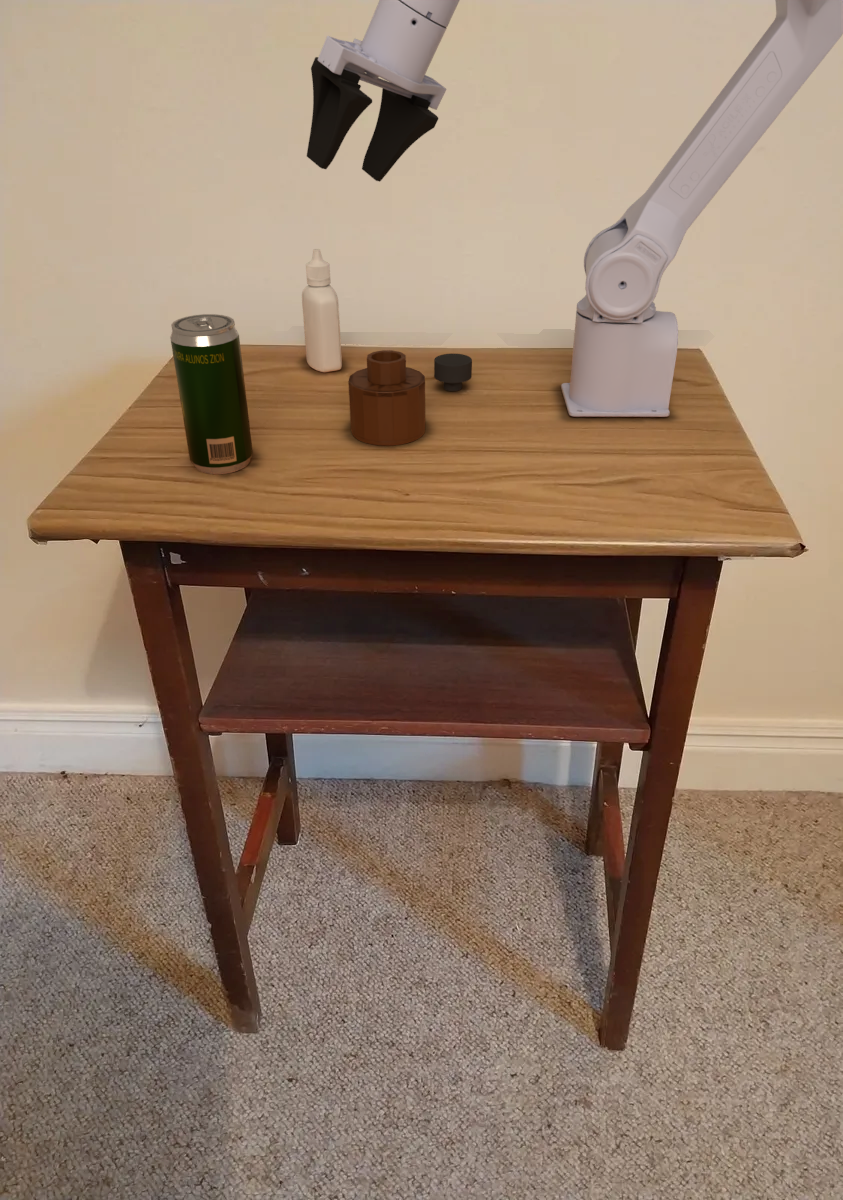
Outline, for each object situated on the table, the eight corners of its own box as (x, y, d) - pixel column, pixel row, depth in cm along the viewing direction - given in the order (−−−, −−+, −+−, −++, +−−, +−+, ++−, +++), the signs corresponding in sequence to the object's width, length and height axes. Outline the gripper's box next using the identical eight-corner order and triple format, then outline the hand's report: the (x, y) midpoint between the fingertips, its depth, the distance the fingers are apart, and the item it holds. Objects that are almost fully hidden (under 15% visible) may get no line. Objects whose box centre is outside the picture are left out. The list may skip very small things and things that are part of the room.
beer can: (261, 468, 77) (245, 327, 71) (199, 480, 75) (177, 337, 69) (243, 445, 81) (226, 310, 75) (183, 456, 79) (161, 318, 73)
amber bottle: (425, 416, 87) (425, 344, 83) (424, 445, 81) (423, 369, 77) (354, 416, 87) (351, 344, 83) (348, 445, 81) (344, 369, 77)
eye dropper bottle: (348, 356, 101) (342, 243, 95) (340, 374, 97) (333, 256, 90) (309, 355, 102) (300, 243, 95) (299, 373, 97) (289, 256, 90)
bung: (470, 381, 94) (471, 353, 93) (471, 395, 91) (472, 365, 90) (434, 381, 94) (434, 353, 93) (434, 394, 91) (434, 365, 90)
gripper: (432, 10, 80) (365, 158, 87) (325, -45, 69) (258, 130, 76) (488, 50, 78) (414, 198, 85) (387, 0, 67) (312, 176, 74)
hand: (344, 169), depth 81 cm, fingers open, 7 cm apart
